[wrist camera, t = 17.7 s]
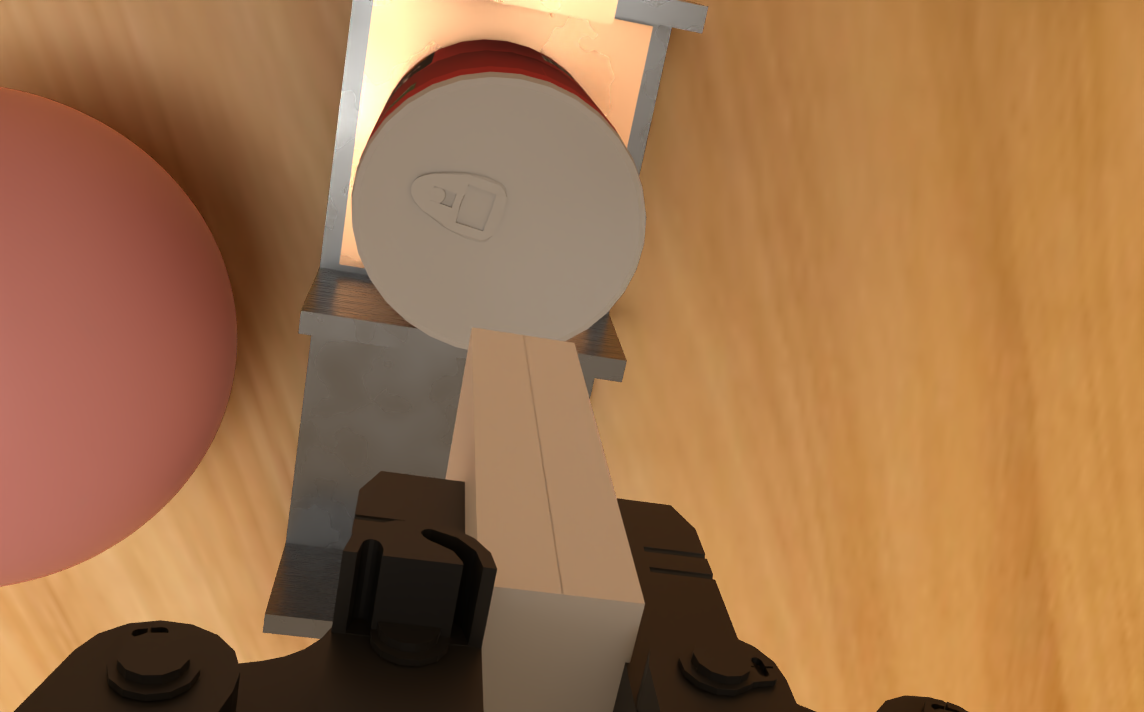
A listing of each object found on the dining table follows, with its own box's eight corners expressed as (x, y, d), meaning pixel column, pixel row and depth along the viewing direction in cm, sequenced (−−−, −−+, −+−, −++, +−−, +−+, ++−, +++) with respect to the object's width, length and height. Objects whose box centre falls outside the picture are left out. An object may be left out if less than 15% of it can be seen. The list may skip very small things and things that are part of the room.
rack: (365, -75, 38) (340, -77, 30) (671, -11, 39) (721, 3, 32) (289, 540, 46) (255, 659, 38) (545, 571, 48) (560, 691, 40)
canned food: (382, 26, 37) (351, 61, 27) (612, 47, 38) (666, 88, 28) (375, 243, 40) (344, 349, 30) (590, 257, 41) (633, 365, 31)
